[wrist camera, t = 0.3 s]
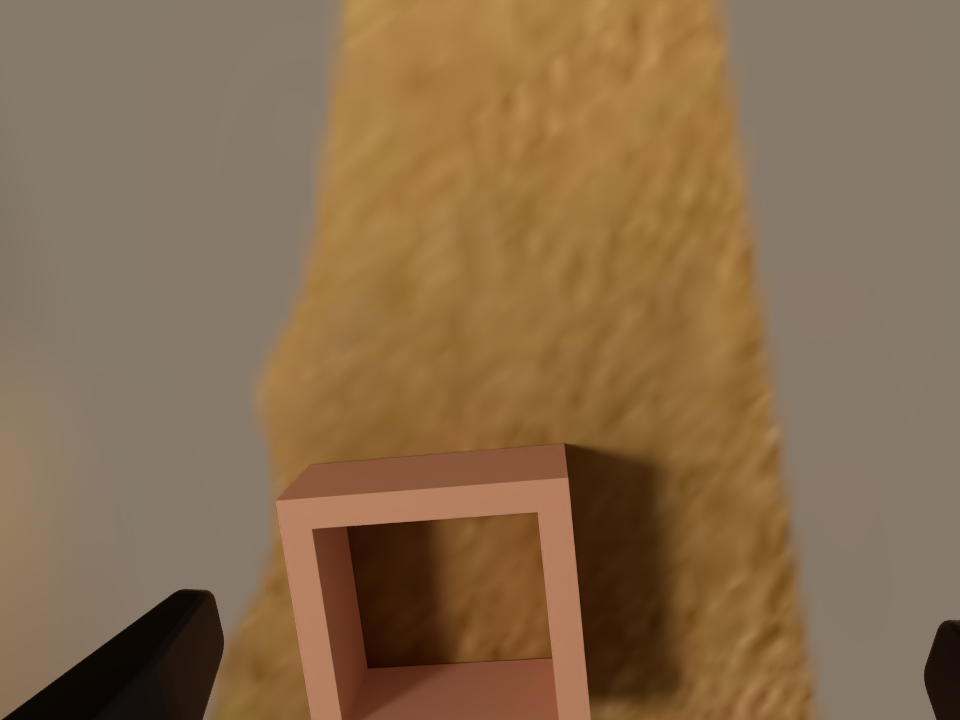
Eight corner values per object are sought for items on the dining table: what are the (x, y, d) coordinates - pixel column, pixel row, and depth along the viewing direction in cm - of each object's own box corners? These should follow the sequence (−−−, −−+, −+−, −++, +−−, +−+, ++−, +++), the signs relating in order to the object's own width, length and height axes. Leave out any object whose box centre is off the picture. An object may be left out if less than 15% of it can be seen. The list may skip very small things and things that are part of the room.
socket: (586, 681, 27) (593, 747, 24) (345, 694, 28) (318, 759, 24) (563, 443, 26) (568, 477, 22) (309, 464, 26) (275, 500, 23)
